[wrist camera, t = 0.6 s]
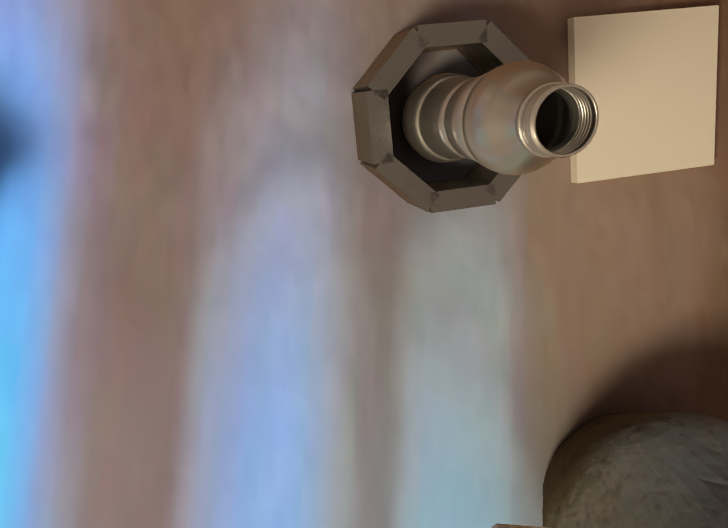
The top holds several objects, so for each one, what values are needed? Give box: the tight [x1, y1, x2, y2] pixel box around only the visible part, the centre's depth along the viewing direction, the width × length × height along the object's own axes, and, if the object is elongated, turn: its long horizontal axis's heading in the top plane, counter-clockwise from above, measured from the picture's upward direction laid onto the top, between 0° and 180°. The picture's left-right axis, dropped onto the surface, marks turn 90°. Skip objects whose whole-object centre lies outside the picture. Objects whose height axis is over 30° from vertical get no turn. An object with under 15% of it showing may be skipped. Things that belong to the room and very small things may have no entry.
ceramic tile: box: [567, 5, 719, 183], centre depth 55 cm, size 13×13×1 cm
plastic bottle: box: [402, 60, 599, 176], centre depth 42 cm, size 6×7×20 cm
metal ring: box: [352, 19, 531, 213], centre depth 49 cm, size 13×13×5 cm
